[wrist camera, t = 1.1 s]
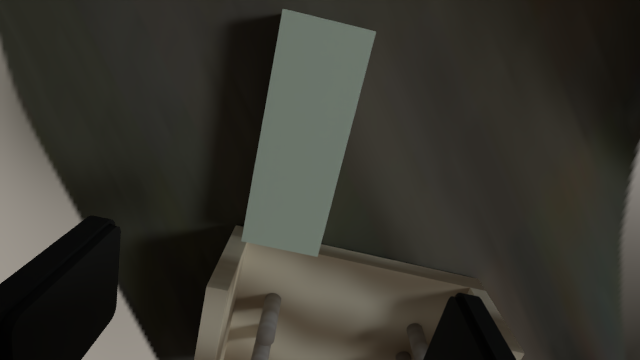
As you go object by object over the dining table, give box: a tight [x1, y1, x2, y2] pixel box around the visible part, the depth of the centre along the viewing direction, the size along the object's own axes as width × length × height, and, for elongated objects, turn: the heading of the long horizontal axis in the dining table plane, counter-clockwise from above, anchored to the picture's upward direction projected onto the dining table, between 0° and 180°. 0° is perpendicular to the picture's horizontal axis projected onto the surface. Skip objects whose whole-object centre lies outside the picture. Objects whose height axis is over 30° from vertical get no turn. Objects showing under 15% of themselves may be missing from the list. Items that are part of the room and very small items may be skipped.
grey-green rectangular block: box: [241, 9, 376, 257], centre depth 25 cm, size 14×5×4 cm, turn 167°
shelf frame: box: [194, 225, 524, 360], centre depth 28 cm, size 12×19×8 cm, turn 76°
